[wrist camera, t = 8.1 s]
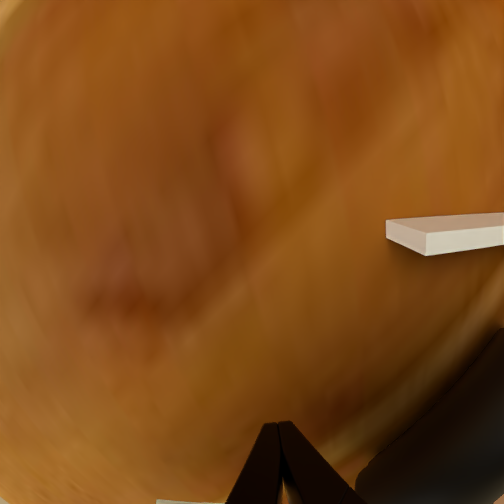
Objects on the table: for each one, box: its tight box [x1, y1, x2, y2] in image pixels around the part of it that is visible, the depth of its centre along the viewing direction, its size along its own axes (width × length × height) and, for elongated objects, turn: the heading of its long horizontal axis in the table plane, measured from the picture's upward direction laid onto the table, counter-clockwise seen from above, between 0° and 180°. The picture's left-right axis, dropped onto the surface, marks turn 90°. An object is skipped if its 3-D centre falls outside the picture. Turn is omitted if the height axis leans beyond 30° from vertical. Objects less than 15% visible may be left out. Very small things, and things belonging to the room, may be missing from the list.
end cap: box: [355, 328, 504, 504], centre depth 8 cm, size 10×7×7 cm
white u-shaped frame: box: [386, 212, 504, 256], centre depth 10 cm, size 19×13×3 cm
